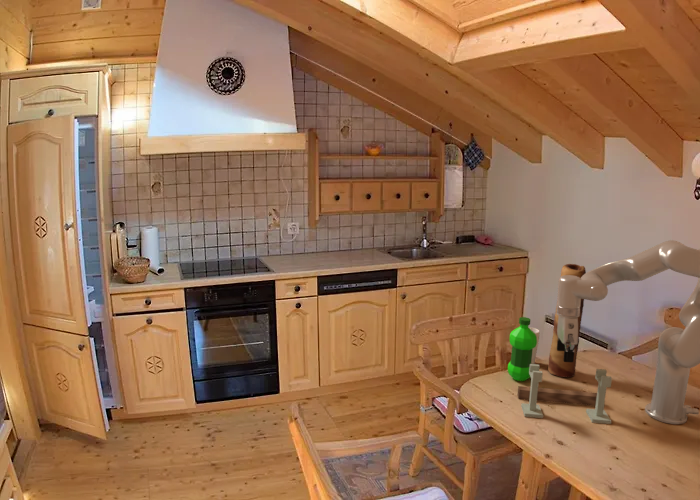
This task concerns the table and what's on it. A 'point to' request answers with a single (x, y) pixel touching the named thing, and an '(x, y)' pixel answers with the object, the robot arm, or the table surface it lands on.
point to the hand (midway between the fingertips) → (564, 356)
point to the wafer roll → (557, 357)
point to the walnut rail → (559, 396)
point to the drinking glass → (536, 344)
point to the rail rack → (594, 414)
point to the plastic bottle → (521, 350)
